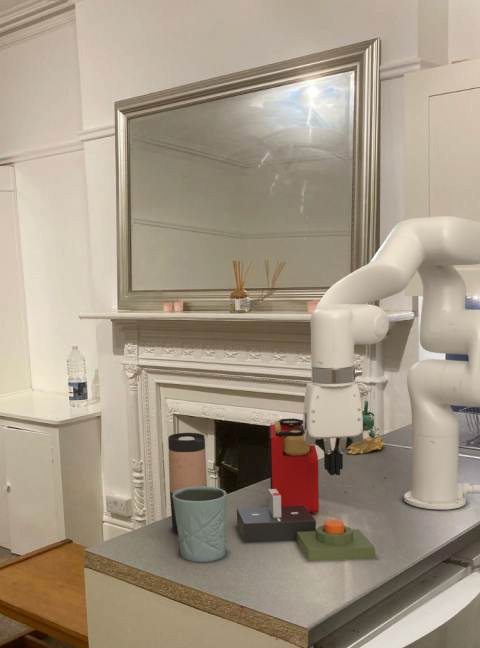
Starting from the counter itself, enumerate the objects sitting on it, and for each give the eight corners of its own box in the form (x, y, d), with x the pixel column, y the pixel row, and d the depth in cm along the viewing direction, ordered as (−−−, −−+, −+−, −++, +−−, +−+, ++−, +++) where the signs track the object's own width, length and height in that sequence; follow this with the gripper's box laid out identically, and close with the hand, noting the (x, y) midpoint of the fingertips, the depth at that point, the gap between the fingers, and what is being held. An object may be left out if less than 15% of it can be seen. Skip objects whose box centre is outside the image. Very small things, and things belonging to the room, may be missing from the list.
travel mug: (170, 525, 173) (166, 433, 170) (206, 523, 173) (203, 431, 170) (172, 537, 165) (168, 441, 163) (210, 535, 165) (207, 439, 162)
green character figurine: (399, 444, 233) (397, 395, 230) (367, 463, 222) (364, 412, 218) (368, 439, 240) (365, 391, 237) (335, 458, 229) (332, 408, 225)
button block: (358, 540, 158) (358, 520, 158) (374, 558, 148) (374, 537, 148) (296, 542, 159) (296, 522, 158) (308, 561, 149) (308, 540, 148)
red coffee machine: (319, 519, 172) (318, 426, 169) (270, 518, 174) (268, 427, 171) (314, 497, 187) (313, 412, 184) (269, 497, 189) (267, 413, 186)
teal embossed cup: (237, 558, 152) (235, 496, 150) (187, 567, 149) (184, 503, 147) (214, 541, 161) (212, 483, 160) (167, 549, 159) (164, 489, 157)
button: (341, 528, 155) (341, 519, 154) (346, 534, 151) (346, 525, 151) (322, 529, 155) (322, 520, 154) (327, 535, 151) (327, 526, 151)
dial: (268, 510, 167) (268, 487, 166) (276, 510, 166) (276, 487, 166) (273, 517, 162) (272, 494, 161) (281, 517, 162) (281, 494, 161)
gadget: (304, 523, 169) (304, 504, 169) (316, 540, 159) (315, 519, 159) (237, 526, 170) (236, 507, 169) (244, 543, 160) (244, 522, 159)
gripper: (367, 371, 152) (367, 466, 155) (287, 375, 152) (288, 470, 155) (380, 376, 145) (380, 476, 147) (296, 380, 145) (297, 480, 148)
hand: (333, 473), depth 151 cm, fingers closed
